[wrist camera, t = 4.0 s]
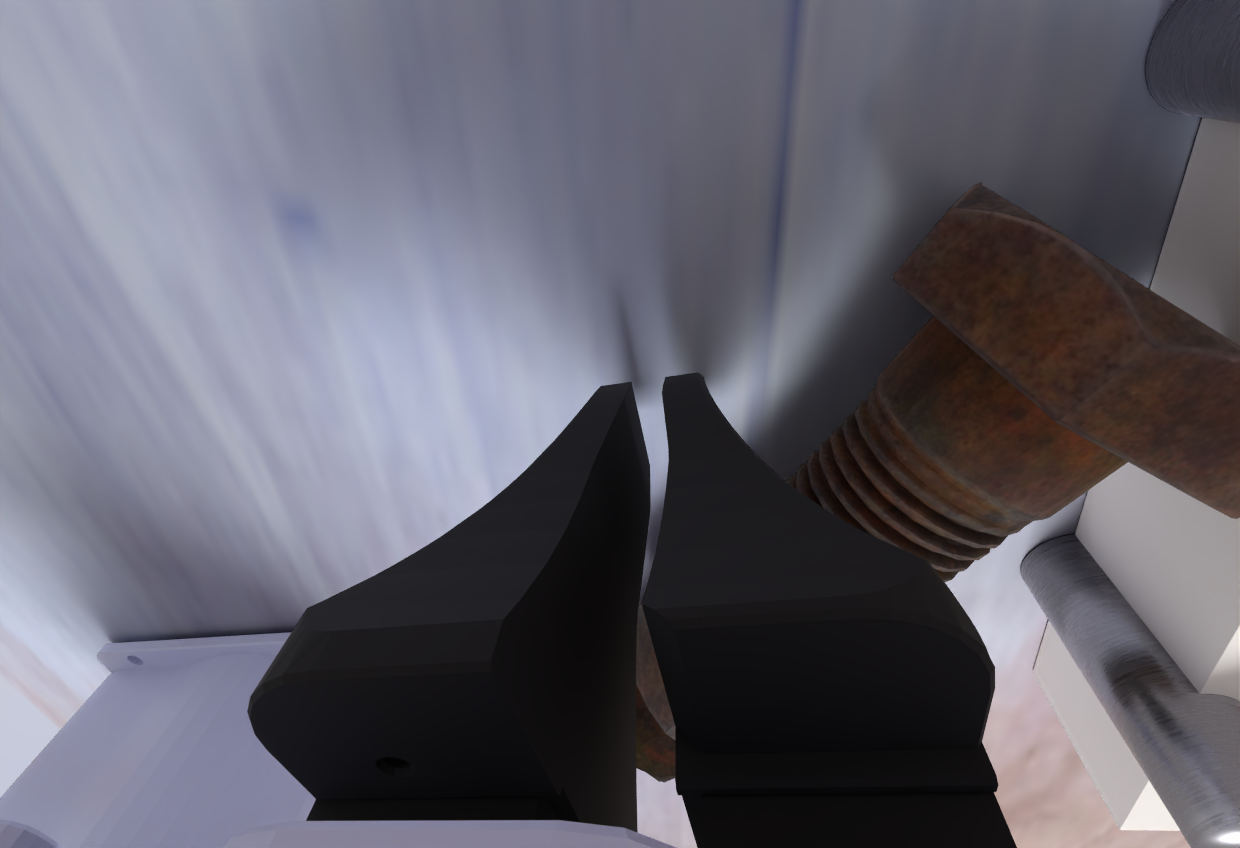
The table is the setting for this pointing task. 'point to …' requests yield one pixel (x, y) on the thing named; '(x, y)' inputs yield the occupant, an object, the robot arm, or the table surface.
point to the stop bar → (1162, 519)
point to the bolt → (1009, 407)
